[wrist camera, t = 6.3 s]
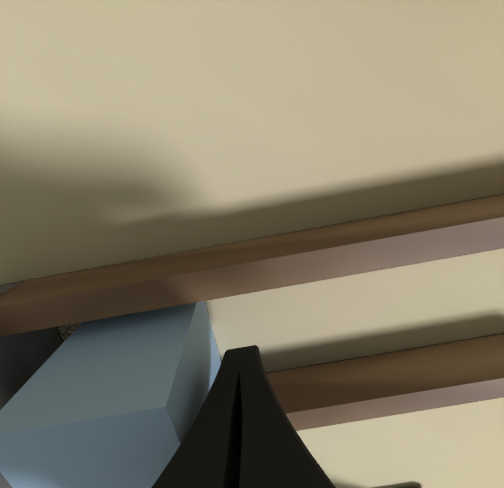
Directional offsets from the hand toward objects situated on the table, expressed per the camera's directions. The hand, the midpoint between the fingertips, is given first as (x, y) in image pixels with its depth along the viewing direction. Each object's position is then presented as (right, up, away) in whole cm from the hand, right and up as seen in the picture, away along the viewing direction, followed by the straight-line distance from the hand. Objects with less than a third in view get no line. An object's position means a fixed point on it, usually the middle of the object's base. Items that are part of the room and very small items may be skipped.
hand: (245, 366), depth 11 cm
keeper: (-4, 0, +3) cm, 5 cm away
